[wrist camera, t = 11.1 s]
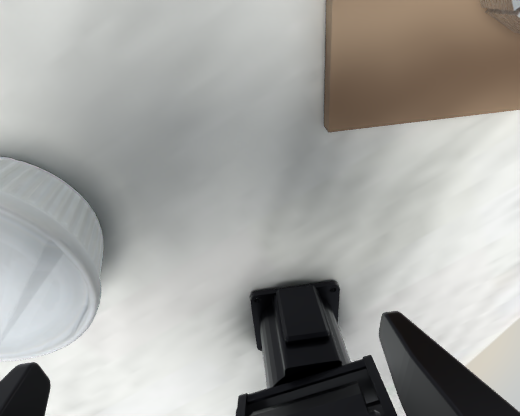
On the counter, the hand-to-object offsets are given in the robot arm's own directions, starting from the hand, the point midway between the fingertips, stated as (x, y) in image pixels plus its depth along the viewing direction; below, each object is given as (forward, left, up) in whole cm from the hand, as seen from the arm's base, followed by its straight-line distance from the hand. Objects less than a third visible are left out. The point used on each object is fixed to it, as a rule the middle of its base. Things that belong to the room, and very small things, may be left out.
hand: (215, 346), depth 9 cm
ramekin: (-3, +12, -12) cm, 17 cm away
